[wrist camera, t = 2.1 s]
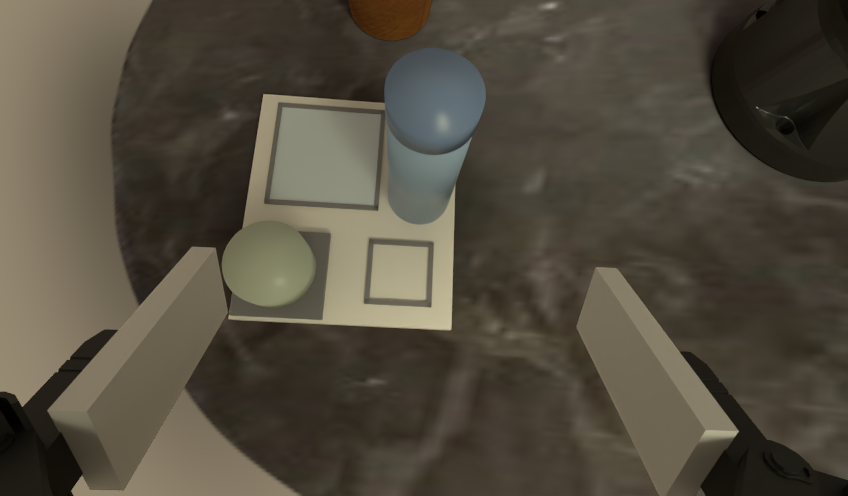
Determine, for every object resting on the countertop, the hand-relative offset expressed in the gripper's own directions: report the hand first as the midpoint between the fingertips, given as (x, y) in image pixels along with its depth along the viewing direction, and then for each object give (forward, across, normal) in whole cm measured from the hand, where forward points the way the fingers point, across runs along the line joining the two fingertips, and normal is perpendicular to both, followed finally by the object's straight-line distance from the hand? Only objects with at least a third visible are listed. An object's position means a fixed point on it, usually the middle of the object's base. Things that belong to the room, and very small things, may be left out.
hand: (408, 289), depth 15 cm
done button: (+10, -8, -6) cm, 14 cm away
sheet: (+15, -4, -4) cm, 16 cm away
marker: (+15, +1, -3) cm, 15 cm away
